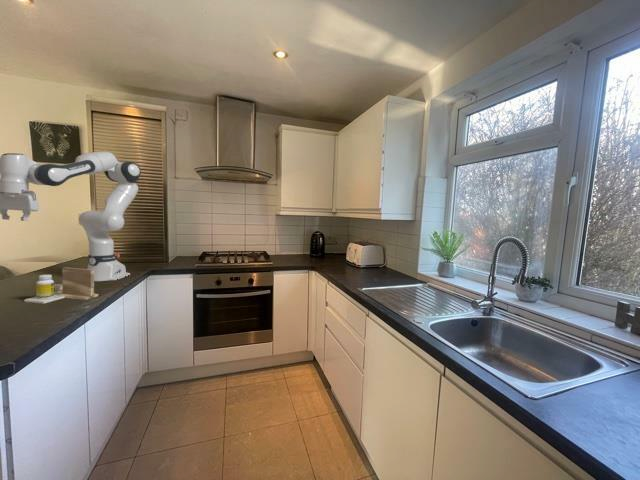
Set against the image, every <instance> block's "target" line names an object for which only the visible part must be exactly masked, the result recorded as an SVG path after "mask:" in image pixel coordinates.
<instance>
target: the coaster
mask: <svg viewBox="0 0 640 480" xmlns="http://www.w3.org/2000/svg"><path fill="white" fill-rule="evenodd" d="M61 299H66V298H65V296H59V294H57V295H54V297H52V298H48V299H37V298H36V296H33V297H29V298H26V299H24V302H25V303H34V304H35V303H36V304H47V303H51V302H54V301H59V300H61Z"/></svg>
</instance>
